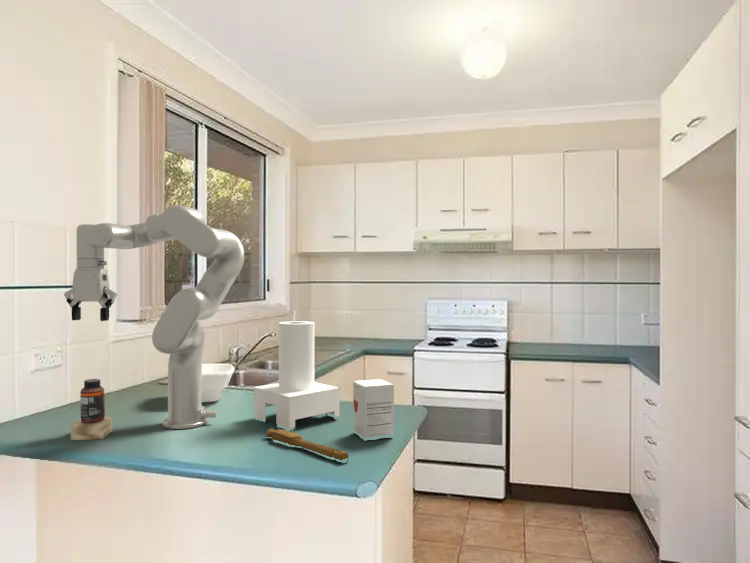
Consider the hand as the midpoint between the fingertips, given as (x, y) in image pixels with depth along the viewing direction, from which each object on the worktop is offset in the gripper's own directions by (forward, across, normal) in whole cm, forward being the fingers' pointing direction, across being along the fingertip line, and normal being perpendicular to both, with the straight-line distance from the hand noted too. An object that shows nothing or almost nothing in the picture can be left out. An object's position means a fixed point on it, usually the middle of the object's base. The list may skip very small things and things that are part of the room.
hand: (90, 320), depth 170 cm
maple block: (+30, -12, +16) cm, 36 cm away
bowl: (+31, -22, -28) cm, 47 cm away
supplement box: (+31, -89, +2) cm, 94 cm away
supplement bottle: (+26, -13, +16) cm, 33 cm away
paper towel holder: (+31, -63, -11) cm, 71 cm away
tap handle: (+31, -74, +17) cm, 82 cm away
